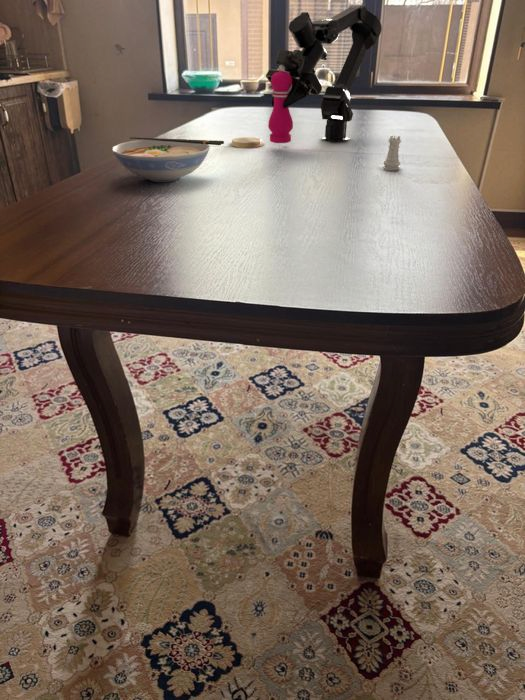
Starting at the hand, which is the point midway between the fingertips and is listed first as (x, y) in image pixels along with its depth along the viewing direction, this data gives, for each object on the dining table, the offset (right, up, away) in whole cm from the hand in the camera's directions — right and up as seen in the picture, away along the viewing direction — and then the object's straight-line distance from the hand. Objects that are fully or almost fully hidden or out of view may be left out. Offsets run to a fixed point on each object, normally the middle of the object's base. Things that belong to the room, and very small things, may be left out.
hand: (277, 106), depth 149 cm
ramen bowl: (-28, -28, -23) cm, 46 cm away
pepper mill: (+1, -8, +6) cm, 10 cm away
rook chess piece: (+29, -23, -13) cm, 39 cm away
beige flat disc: (-9, -5, +16) cm, 19 cm away
